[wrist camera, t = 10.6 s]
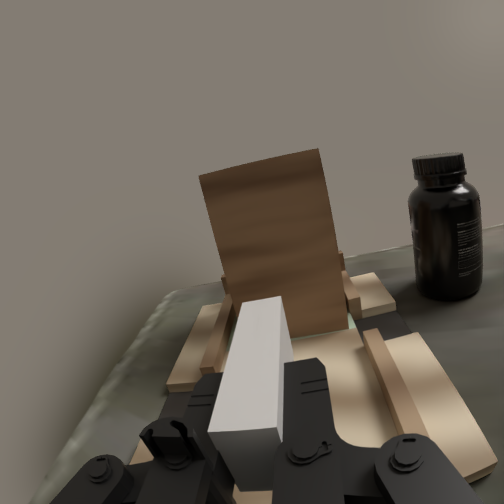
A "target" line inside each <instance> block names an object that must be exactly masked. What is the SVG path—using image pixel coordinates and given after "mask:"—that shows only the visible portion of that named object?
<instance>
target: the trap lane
mask: <svg viewBox="0 0 504 504" xmlns="http://www.w3.org/2000/svg"><path fill="white" fill-rule="evenodd" d="M338 252H339V259H340V265H341V272H342V278H343V285H344V293H345V300H346V308H347V316H348V324H349V329H346V330H340V331H335V332H329V333H323V334H317V335H311V336H304V337H298V338H291V339H290V340H291V345H292V349H293V354H294V361H298V360H304V359H310V358H315V357H317V358H318V359H319V360H320V361H321V362H322V363H323V364H324V365H325V368H326V374H327V380H328V386H329V392H330V399H331V405H332V412H333V418H334V425H335V429H336V432H337V434H338V435H339V437H340V438H341V439H342V440H344V441H345V442H347V443H349V444H351V445H354V446H360V447H374V448H380V447H381V446H382V445H383V444H384V443H385V442H387V441H388V440H390V439H391V438H393V437H395V436H398V435H402V434H409V433H417V434H420V435H424V436H427V437H428V438H430V439H431V440H432V441H434V442H435V443H436V444H437V446H438V447H439V448H440V449H441V451H442V452H443V453H444V454H445V455H446V457H447V458H448V459H449V460H450V462H451V463H452V464H453V465H454V467H455V468H456V469H457V470H458V472H459V473H460V474H461V475H462V477H463V478H464V479H465V480H466V482H467V483H468V484H469V483H471V482H473V481H475V480H478V479H480V478H482V477H484V476H486V475H488V474H490V473H492V471H493V470H494V468H495V466H496V464H497V462H498V460H497V458H496V456H495V455H494V453H493V451H492V449H491V447H490V446H489V444H488V442H487V440H486V438H485V437H484V435H483V433H482V431H481V430H480V428H479V426H478V424H477V423H476V421H475V419H474V418H473V416H472V414H471V413H470V411H469V409H468V408H467V406H466V404H465V403H464V401H463V400H462V398H461V396H460V395H459V393H458V392H457V390H456V388H455V387H454V385H453V384H452V382H451V381H450V379H449V378H448V376H447V374H446V373H445V371H444V370H443V368H442V367H441V365H440V364H439V362H438V361H437V359H436V358H435V356H434V355H433V353H432V352H431V351H430V349H429V348H428V346H427V345H426V343H425V342H424V340H423V339H422V337H421V336H420V335H419V333H418V332H416V333H412V332H411V331H410V330H409V328H408V327H407V325H406V324H405V322H404V321H403V319H402V318H401V316H400V315H399V314H398V312H397V311H396V301H395V300H394V299H393V297H392V296H391V295H390V293H389V292H388V291H387V289H386V288H385V287H384V286H383V284H382V283H381V282H380V280H379V279H378V278H377V276H376V275H375V274H374V273H369V274H364V275H360V276H355V277H351V278H349V276H348V274H347V272H346V271H345V264H344V257H343V253H342V251H338ZM221 280H222V283H223V287H224V290H225V294H226V295H225V298H224V300H223V303H219V304H213V305H207V306H203V307H202V309H201V311H200V313H199V315H198V317H197V319H196V321H195V323H194V325H193V327H192V330H191V332H190V334H189V336H188V338H187V340H186V342H185V344H184V346H183V349H182V351H181V353H180V355H179V357H178V359H177V361H176V363H175V366H174V368H173V370H172V372H171V374H170V376H169V379H168V381H167V383H166V386H167V388H168V390H169V392H170V393H169V395H168V398H167V400H166V402H165V405H164V407H163V409H162V412H161V414H160V416H159V419H161V418H166V417H172V416H173V417H180V418H183V416H184V413H185V410H186V408H187V407H188V402H189V400H190V398H191V394H192V391H193V389H194V386H195V384H196V383H197V382H198V381H199V380H200V379H201V377H202V376H203V375H204V374H208V373H218V372H224V369H225V365H226V362H227V358H228V354H229V351H230V347H231V343H232V340H233V336H234V332H235V328H236V325H237V321H238V319H237V316H236V312H235V309H234V305H233V302H232V298H231V295H230V291H229V288H228V284H227V281H226V277H225V274H224V275H222V277H221ZM159 419H158V420H159ZM153 458H154V457H153V456H152V454H151V453H150V451H149V450H148V448H147V447H146V445H145V444H144V442H143V441H142V439H141V440H140V442H139V444H138V446H137V449H136V451H135V453H134V455H133V458H132V460H131V462H130V464H129V465H131V464H137V463H143V462H148V461H151V460H153ZM233 498H234V499H235V501H236V503H237V504H272V491H254V492H240V491H239V489H238V488H237V486H236V484H235V485H234V491H233Z"/></svg>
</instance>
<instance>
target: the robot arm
mask: <svg viewBox="0 0 504 504" xmlns="http://www.w3.org/2000/svg"><path fill="white" fill-rule="evenodd" d="M139 436H140V438H141V439H142V441H143V442H144V444H145V445H146V447H147V448H148V450H149V451H150V453H151V454H152V456H153V457H154V458H153V460H151V461H148V462H143V463H137V464H131V465H124V464H123V462H122V461H121V460H120V459H118V458H117V457H116V456H113V455H100V456H97V457H95V458H92V459H90V460H89V461H88V462H87V463H86V464H84V466H83V467H82V468H81V469H80V470H79V471H78V472H77V473H76V475H75V476H74V477H73V478H72V479H71V480H70V481H69V483H68V484H67V485H66V486H65V487H64V488H63V489H62V490H61V492H60V493H59V494H58V495H57V496H56V497H55V498H54V499H53V500H52V502H51V503H50V504H237V503H236V501H235V499H234V498H233V491H234V485H235V484H236V486H237V488H238V489H239V491H240V492H254V491H272V504H484V503H483V502H482V500H481V499H480V498H479V497H478V495H477V494H476V493H475V492H474V490H473V489H472V488H471V487H470V485H469V484H468V483H467V482H466V480H465V479H464V478H463V477H462V475H461V474H460V473H459V472H458V470H457V469H456V468H455V467H454V465H453V464H452V463H451V462H450V460H449V459H448V458H447V457H446V455H445V454H444V453H443V452H442V451H441V449H440V448H439V447H438V446H437V444H436V443H435V442H434V441H432V440H431V439H430V438H428V437H427V436H424V435H420V434H417V433H409V434H402V435H398V436H395V437H393V438H391V439H390V440H388V441H387V442H385V443H384V444H383V445H382V446H381V447H380V448H374V447H360V446H354V445H351V444H349V443H347V442H345V441H344V440H342V439H341V438H340V437H339V435H338V434H337V432H336V429H335V425H334V418H333V412H332V405H331V399H330V392H329V386H328V380H327V374H326V368H325V365H324V364H323V363H322V362H321V361H320V360H319V359H318V358H317V357H315V358H310V359H304V360H298V361H294V354H293V349H292V345H291V340H290V335H289V331H288V326H287V322H286V317H285V313H284V308H283V303H282V299H281V296H277V297H272V298H266V299H261V300H255V301H250V302H244V303H242V306H241V310H240V313H239V317H238V321H237V325H236V328H235V332H234V336H233V340H232V343H231V347H230V351H229V354H228V358H227V362H226V365H225V369H224V372H218V373H208V374H204V375H203V376H202V377H201V379H200V380H199V381H198V382H197V383H196V384H195V386H194V389H193V391H192V394H191V398H190V400H189V402H188V407H187V408H186V410H185V413H184V416H183V418H180V417H173V416H172V417H166V418H161V419H159V420H156V421H154V422H152V423H151V424H149V425H148V426H146V427H145V428H144V429H143V431H142V432H141V433H140V435H139Z"/></svg>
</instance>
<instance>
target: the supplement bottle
mask: <svg viewBox="0 0 504 504" xmlns="http://www.w3.org/2000/svg"><path fill="white" fill-rule="evenodd" d="M412 163H413V169H414V178H415V180H418V186H417V187H416V188H415V189H414V190H413V191H412V192H411V194H410V196H409V199H408V207H409V214H410V223H411V230H412V240H413V250H414V262H415V274H416V284H417V287H418V289H419V290H420V292H421V293H422V294H424V295H425V296H427V297H430V298H433V299H437V300H457V299H462V298H465V297H468V296H470V295H472V294H473V293H475V292H476V291H477V290H478V289H479V287H480V286H481V283H482V275H483V243H482V222H481V221H482V220H481V207H480V197H479V194H478V192H477V190H476V189H475V187H474V186H473V185H471V184H470V183H468V182H466V181H465V177H464V175H466V174H467V171H466V168H465V163H464V157H463V154H462V153H442V154H434V155H426V156H420V157H416V158H413V159H412Z"/></svg>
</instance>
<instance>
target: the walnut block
mask: <svg viewBox="0 0 504 504" xmlns="http://www.w3.org/2000/svg"><path fill="white" fill-rule="evenodd" d="M199 180H200V184H201V188H202V192H203V195H204V199H205V203H206V207H207V211H208V215H209V218H210V222H211V226H212V230H213V233H214V237H215V241H216V244H217V248H218V251H219V255H220V259H221V263H222V266H223V270H224V273H225V277H226V281H227V284H228V288H229V291H230V295H231V298H232V302H233V305H234V309H235V312H236V316H237V319H238V317H239V313H240V310H241V306H242V303H244V302H250V301H255V300H261V299H266V298H272V297H277V296H281V299H282V303H283V308H284V313H285V317H286V322H287V326H288V331H289V335H290V339H291V338H298V337H304V336H311V335H317V334H323V333H329V332H335V331H340V330H346V329H349V324H348V316H347V308H346V300H345V293H344V285H343V278H342V272H341V265H340V259H339V252H338V247H337V240H336V234H335V229H334V223H333V218H332V212H331V207H330V202H329V197H328V191H327V186H326V182H325V177H324V172H323V168H322V163H321V158H320V154H319V149H318V148H317V149H312V150H307V151H302V152H297V153H292V154H287V155H282V156H278V157H274V158H269V159H265V160H260V161H256V162H251V163H247V164H243V165H239V166H235V167H231V168H227V169H223V170H219V171H215V172H211V173H207V174H203V175H200V176H199Z"/></svg>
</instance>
